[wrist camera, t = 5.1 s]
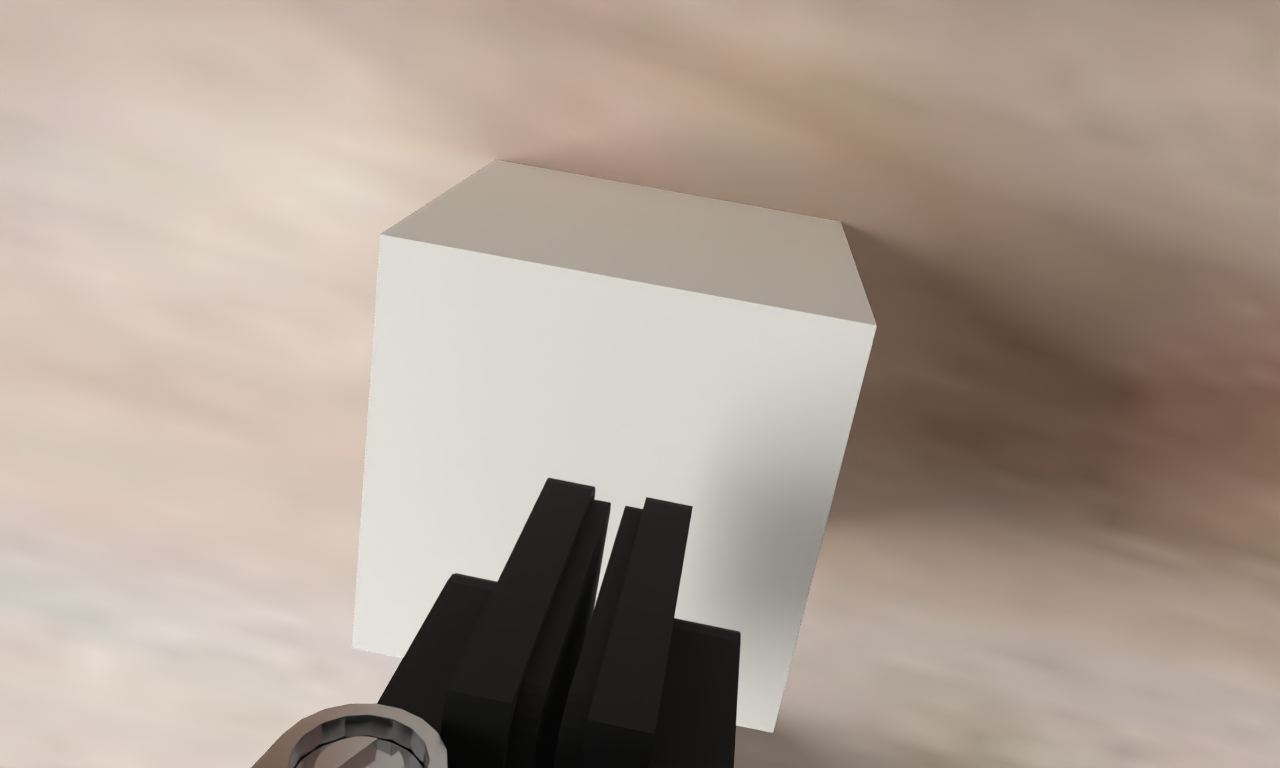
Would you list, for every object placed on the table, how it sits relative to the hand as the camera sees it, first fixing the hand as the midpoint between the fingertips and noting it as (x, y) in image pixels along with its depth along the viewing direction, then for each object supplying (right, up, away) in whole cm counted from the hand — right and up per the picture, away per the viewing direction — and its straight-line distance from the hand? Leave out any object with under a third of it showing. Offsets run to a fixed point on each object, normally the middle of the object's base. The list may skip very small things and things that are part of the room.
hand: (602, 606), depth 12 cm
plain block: (0, +3, +7) cm, 8 cm away
